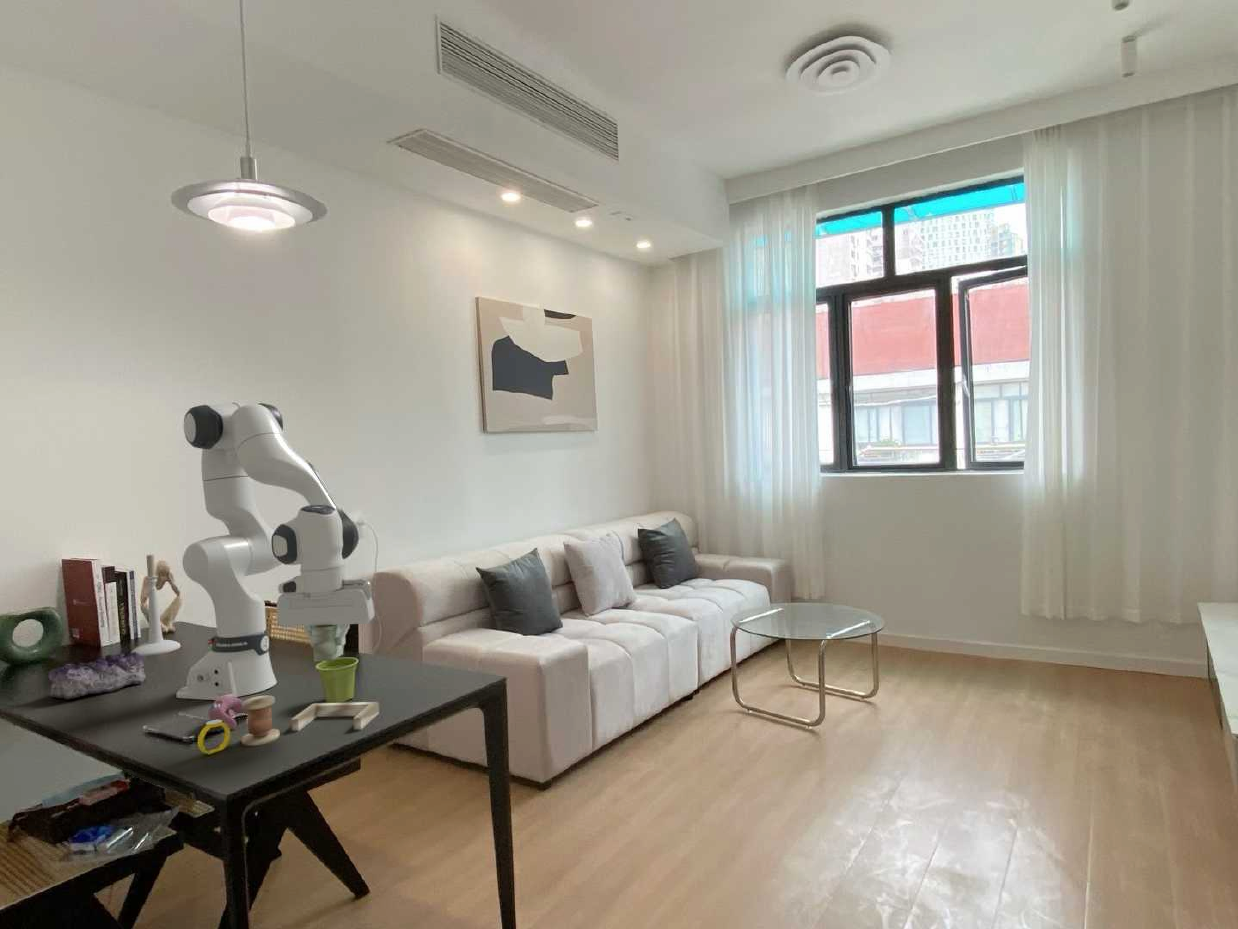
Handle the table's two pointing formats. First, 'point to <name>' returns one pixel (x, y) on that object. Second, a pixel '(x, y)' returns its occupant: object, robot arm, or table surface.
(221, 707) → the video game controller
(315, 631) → the block
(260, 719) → the bobbin
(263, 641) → the robot arm
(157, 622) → the candlestick
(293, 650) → the table surface
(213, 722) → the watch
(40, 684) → the table surface
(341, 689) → the plant pot
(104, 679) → the geode
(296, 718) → the beige u-shaped bracket
